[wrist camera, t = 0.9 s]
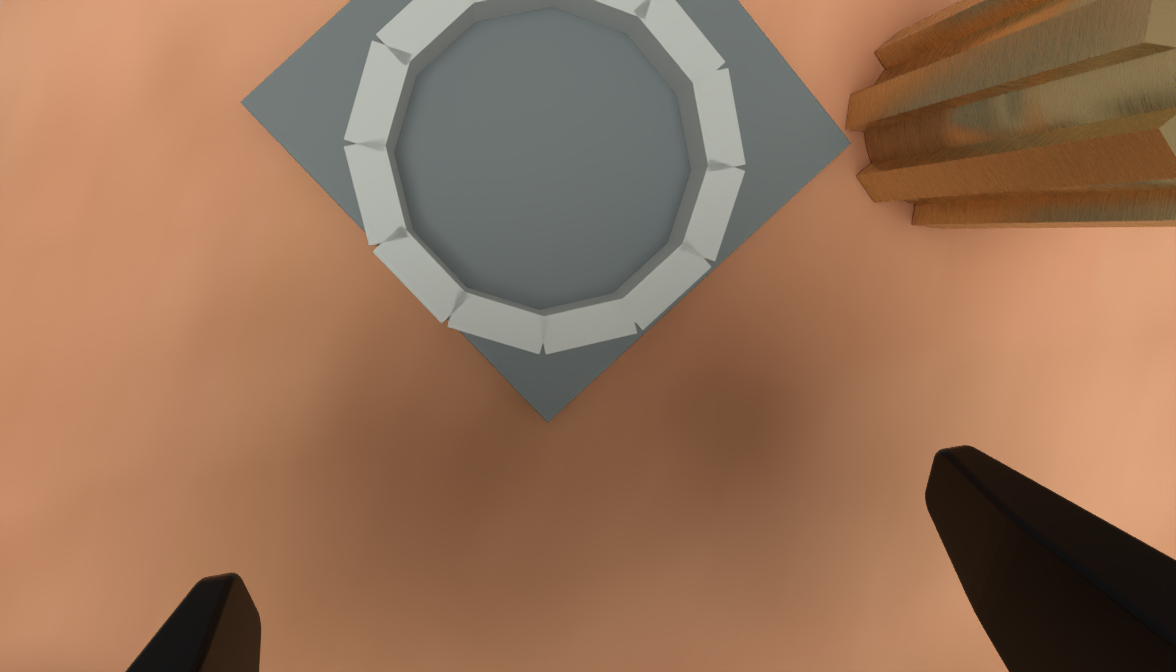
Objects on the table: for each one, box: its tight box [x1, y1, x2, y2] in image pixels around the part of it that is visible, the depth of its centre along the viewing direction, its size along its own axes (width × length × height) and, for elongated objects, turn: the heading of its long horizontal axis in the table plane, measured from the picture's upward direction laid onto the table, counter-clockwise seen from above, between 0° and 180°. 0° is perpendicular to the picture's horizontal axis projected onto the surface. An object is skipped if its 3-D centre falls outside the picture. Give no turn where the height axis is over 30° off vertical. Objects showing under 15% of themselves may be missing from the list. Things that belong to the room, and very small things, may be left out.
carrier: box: [241, 0, 851, 423], centre depth 21 cm, size 12×12×3 cm
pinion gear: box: [846, 0, 1176, 229], centre depth 19 cm, size 6×6×11 cm
